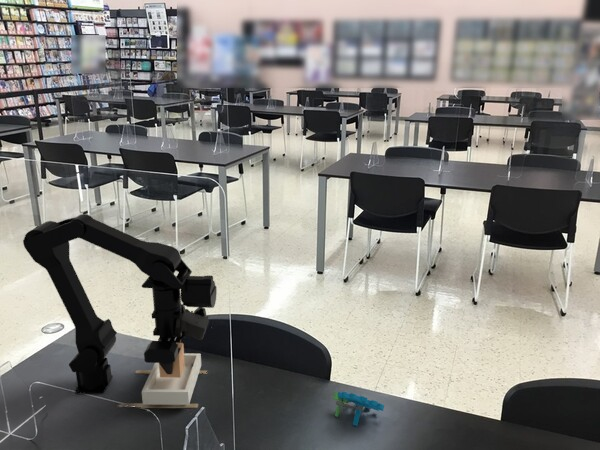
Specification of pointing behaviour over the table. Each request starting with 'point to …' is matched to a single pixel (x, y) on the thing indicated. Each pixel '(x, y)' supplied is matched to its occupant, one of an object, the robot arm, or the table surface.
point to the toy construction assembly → (359, 403)
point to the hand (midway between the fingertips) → (172, 367)
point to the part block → (175, 365)
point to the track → (159, 405)
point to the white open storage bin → (172, 384)
